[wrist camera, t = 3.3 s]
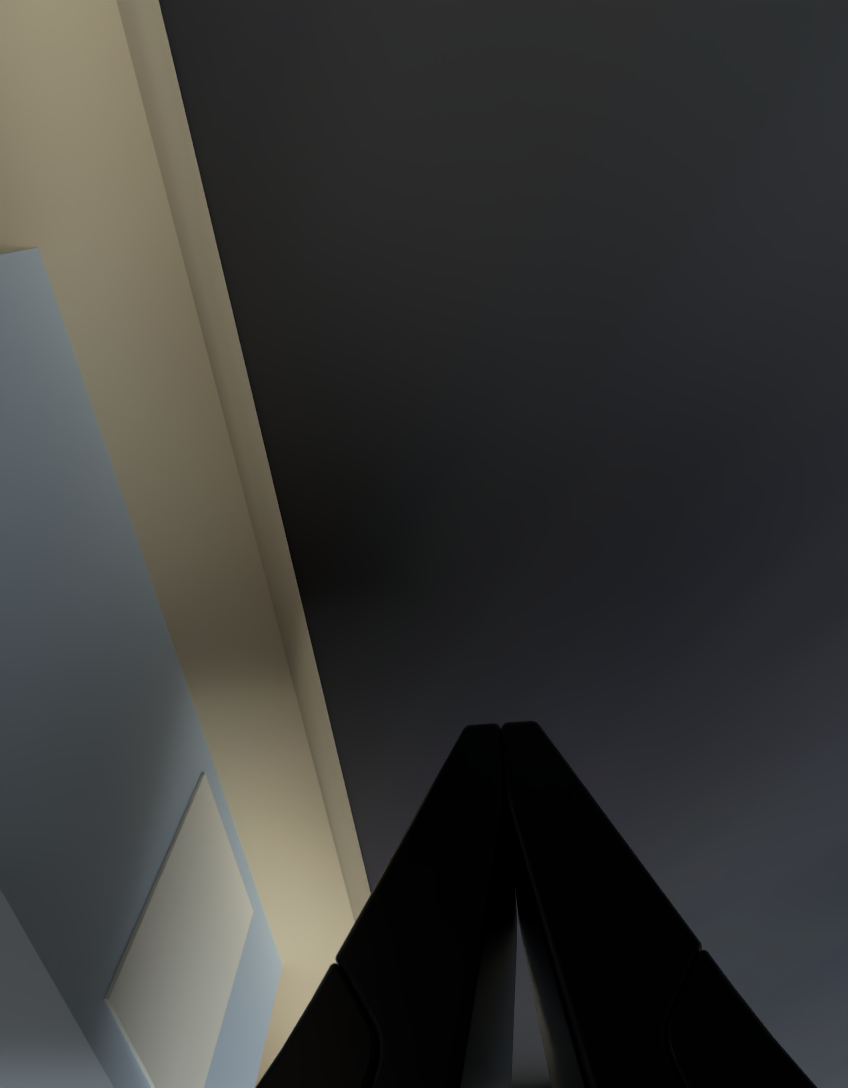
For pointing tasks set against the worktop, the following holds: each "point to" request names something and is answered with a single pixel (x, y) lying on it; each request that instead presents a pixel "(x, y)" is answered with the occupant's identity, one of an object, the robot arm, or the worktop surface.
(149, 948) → the carton
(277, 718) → the display board
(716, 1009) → the robot arm
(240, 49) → the worktop surface
